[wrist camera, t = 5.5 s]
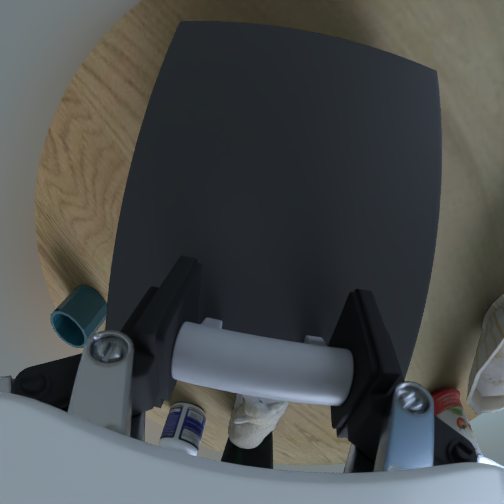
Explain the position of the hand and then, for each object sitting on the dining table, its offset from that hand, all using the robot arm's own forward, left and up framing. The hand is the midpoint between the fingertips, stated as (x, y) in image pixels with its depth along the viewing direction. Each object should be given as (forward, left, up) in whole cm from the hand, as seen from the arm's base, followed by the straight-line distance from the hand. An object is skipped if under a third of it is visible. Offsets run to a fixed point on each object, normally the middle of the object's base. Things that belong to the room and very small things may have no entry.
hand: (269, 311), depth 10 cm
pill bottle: (+19, -31, -17) cm, 40 cm away
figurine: (+16, -15, -17) cm, 27 cm away
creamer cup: (-3, -27, -16) cm, 32 cm away
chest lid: (-2, +2, -4) cm, 5 cm away
